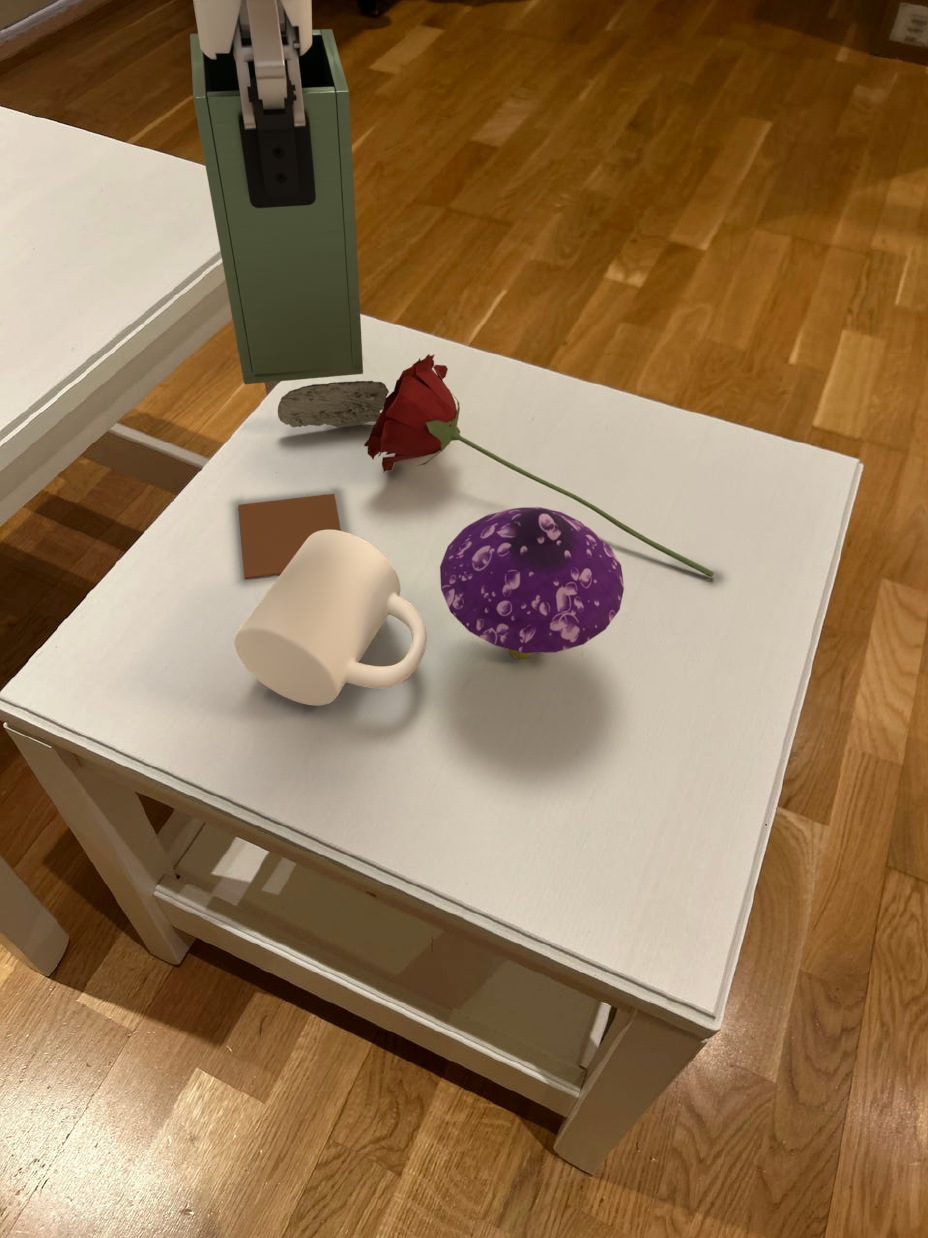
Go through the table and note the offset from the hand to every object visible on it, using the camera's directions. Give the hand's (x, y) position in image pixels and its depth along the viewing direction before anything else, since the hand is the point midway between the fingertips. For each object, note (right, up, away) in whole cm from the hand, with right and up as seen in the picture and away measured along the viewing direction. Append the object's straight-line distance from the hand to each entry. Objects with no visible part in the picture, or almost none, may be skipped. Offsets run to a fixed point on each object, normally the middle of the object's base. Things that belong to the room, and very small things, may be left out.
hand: (277, 161), depth 48 cm
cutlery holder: (0, -7, +9) cm, 11 cm away
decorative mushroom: (+14, -26, +22) cm, 37 cm away
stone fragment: (-2, -7, +36) cm, 37 cm away
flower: (+17, -15, +31) cm, 38 cm away
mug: (+1, -27, +21) cm, 34 cm away
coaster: (-4, -17, +28) cm, 33 cm away
